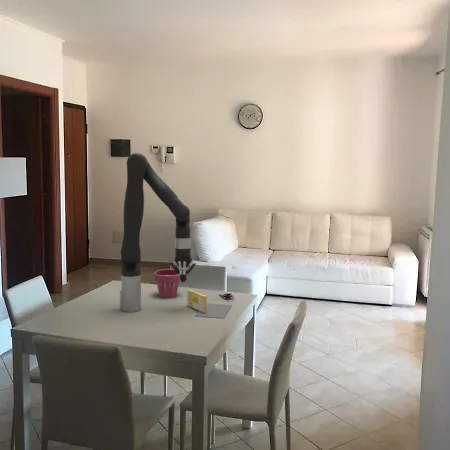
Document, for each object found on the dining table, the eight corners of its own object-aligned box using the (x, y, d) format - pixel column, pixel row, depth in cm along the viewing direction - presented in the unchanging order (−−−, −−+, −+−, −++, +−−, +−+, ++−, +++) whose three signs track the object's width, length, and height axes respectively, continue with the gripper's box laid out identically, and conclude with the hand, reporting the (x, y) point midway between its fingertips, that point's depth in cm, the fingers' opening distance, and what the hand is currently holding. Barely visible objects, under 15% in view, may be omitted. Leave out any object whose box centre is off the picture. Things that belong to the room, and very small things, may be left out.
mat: (194, 316, 236) (194, 315, 236) (204, 303, 256) (204, 303, 256) (224, 318, 234) (224, 317, 233) (231, 305, 253) (231, 305, 253)
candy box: (207, 312, 240) (207, 295, 239) (203, 313, 239) (203, 296, 238) (190, 304, 253) (189, 288, 252) (186, 305, 252) (186, 289, 251)
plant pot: (175, 300, 261) (175, 276, 259) (150, 297, 265) (150, 274, 263) (185, 293, 274) (185, 270, 273) (161, 290, 278) (161, 268, 276)
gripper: (167, 247, 241) (168, 283, 243) (194, 248, 238) (194, 284, 241) (172, 244, 248) (172, 279, 250) (198, 245, 245) (198, 280, 248)
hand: (183, 281), depth 246 cm, fingers closed
